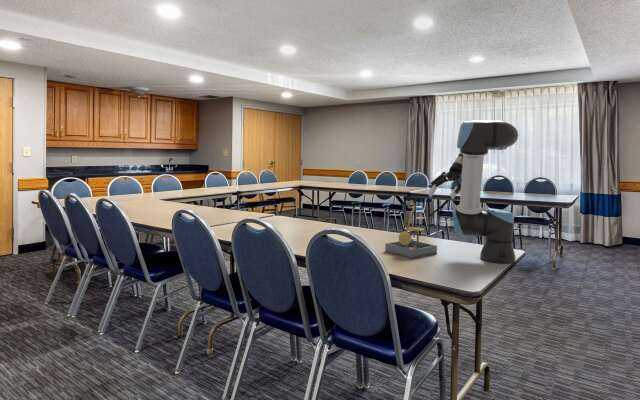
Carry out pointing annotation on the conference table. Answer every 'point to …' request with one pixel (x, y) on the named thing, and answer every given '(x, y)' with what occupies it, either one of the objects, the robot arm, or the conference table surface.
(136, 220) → the conference table surface
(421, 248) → the tray
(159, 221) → the conference table surface
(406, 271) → the conference table surface
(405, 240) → the wall sconce
